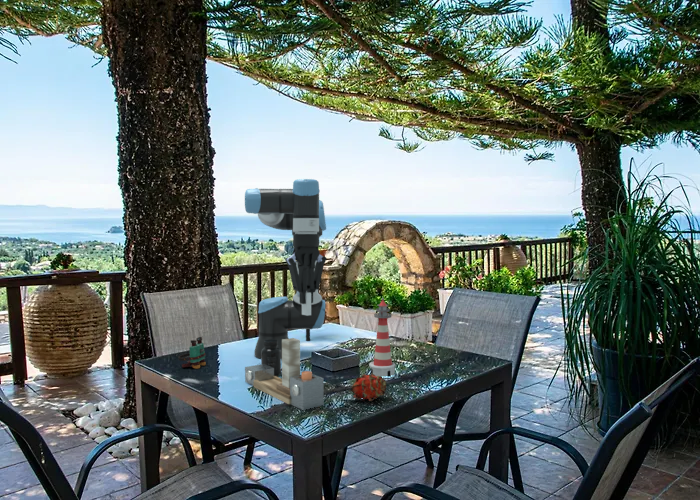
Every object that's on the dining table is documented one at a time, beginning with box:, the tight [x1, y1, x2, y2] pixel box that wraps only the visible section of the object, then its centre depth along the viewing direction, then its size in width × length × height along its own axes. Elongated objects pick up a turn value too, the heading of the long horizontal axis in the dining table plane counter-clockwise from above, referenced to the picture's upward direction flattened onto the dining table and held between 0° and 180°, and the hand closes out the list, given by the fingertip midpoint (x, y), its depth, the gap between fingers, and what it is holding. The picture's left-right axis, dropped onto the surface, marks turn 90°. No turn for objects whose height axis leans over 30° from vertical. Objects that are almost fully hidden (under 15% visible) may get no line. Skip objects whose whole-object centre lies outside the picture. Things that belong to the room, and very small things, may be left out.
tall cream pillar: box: [276, 337, 301, 395], centre depth 165 cm, size 6×8×16 cm
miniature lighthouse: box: [368, 297, 396, 376], centre depth 190 cm, size 9×9×30 cm
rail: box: [253, 376, 291, 405], centre depth 170 cm, size 8×22×2 cm, turn 37°
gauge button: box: [301, 370, 313, 380], centre depth 159 cm, size 3×3×6 cm
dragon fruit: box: [348, 372, 388, 402], centre depth 163 cm, size 8×8×12 cm
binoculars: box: [177, 336, 207, 370], centre depth 203 cm, size 9×11×10 cm
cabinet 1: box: [244, 364, 274, 387], centre depth 182 cm, size 8×7×5 cm
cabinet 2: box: [289, 373, 325, 411], centre depth 159 cm, size 8×7×8 cm
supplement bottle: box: [260, 340, 282, 377], centre depth 192 cm, size 7×7×12 cm
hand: (306, 314), depth 158 cm, fingers closed
